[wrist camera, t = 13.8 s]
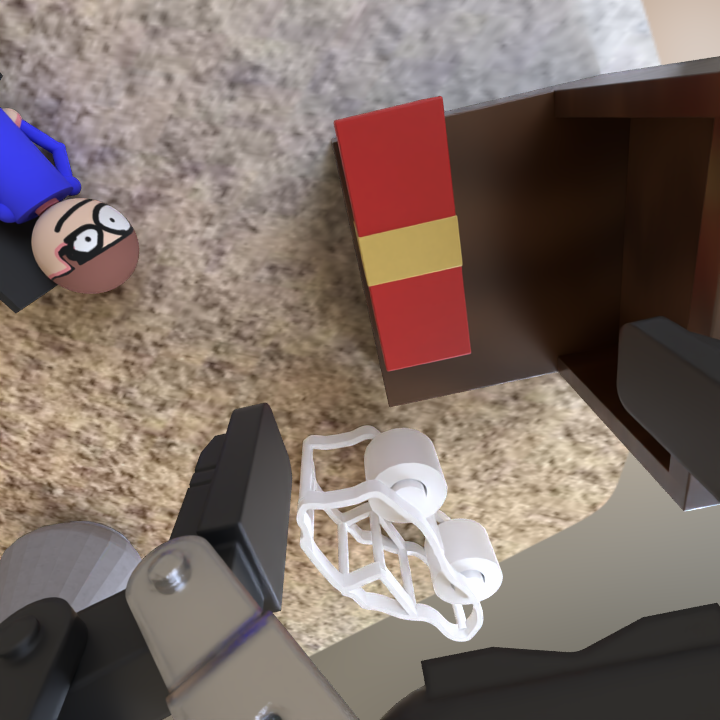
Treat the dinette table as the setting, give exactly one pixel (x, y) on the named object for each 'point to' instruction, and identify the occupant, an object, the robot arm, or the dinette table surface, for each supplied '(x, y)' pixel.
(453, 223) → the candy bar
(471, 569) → the car outline toy
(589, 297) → the shelf rack
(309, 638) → the dinette table surface
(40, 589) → the coffee pot
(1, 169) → the character figurine
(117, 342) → the dinette table surface
